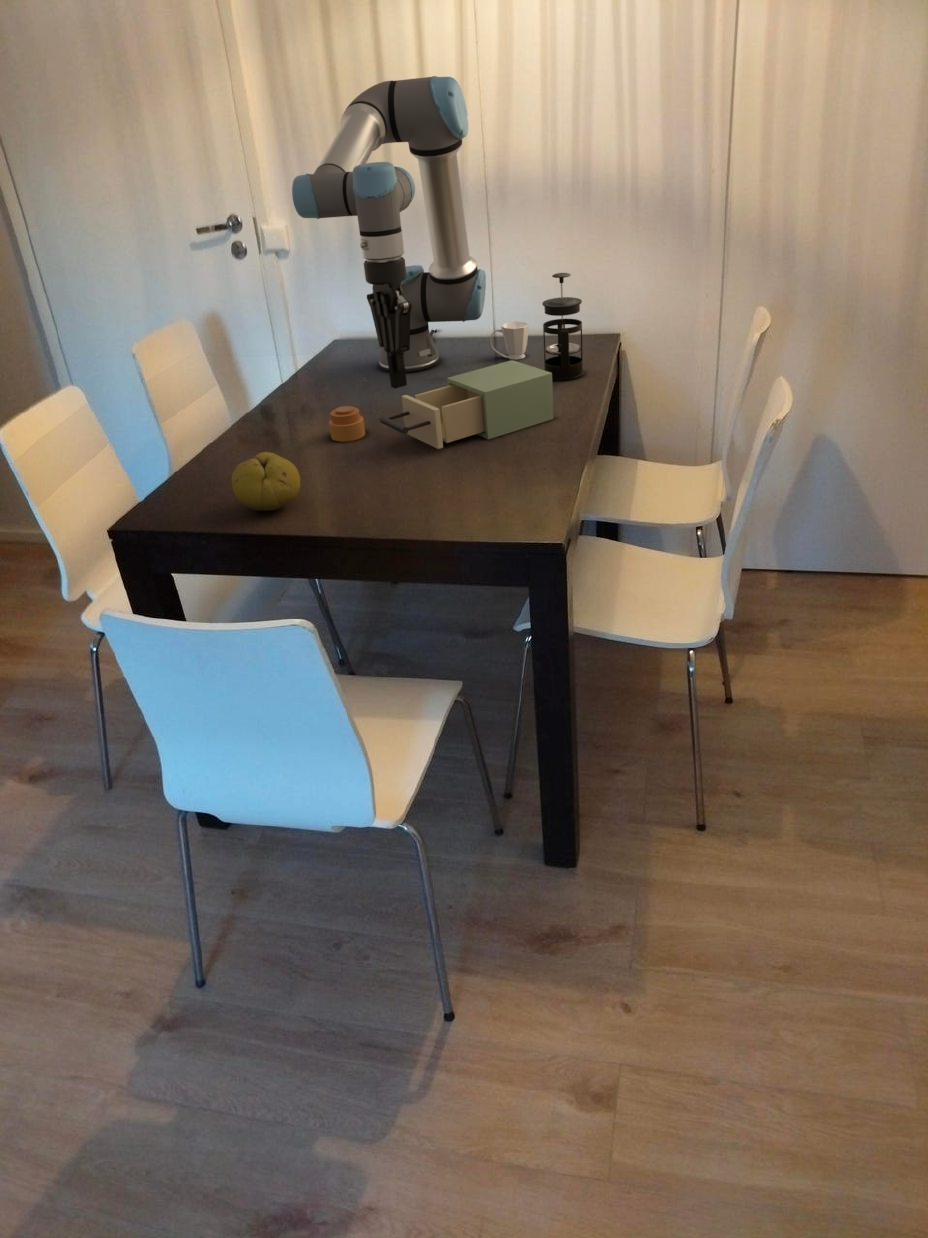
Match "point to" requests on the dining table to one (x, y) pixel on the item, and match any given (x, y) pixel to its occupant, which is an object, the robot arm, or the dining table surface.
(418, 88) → the robot arm
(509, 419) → the cabinet
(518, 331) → the cup
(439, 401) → the drawer
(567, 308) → the french press
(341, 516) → the dining table surface
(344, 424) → the stepped orange cylinder
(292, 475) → the fruit
